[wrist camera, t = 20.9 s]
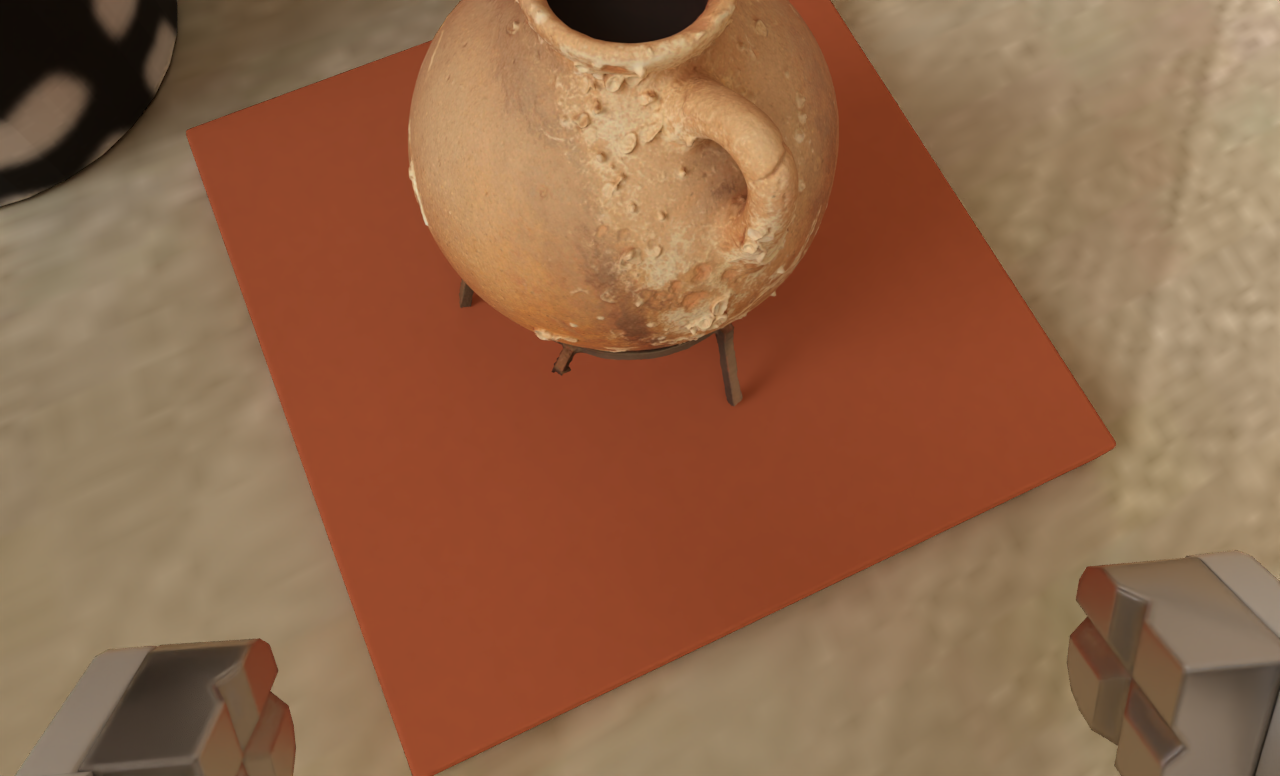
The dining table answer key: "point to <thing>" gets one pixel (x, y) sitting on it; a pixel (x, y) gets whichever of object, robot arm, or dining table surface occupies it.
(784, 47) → the pot
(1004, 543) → the dining table surface
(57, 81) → the spotted tube
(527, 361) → the terracotta mat
